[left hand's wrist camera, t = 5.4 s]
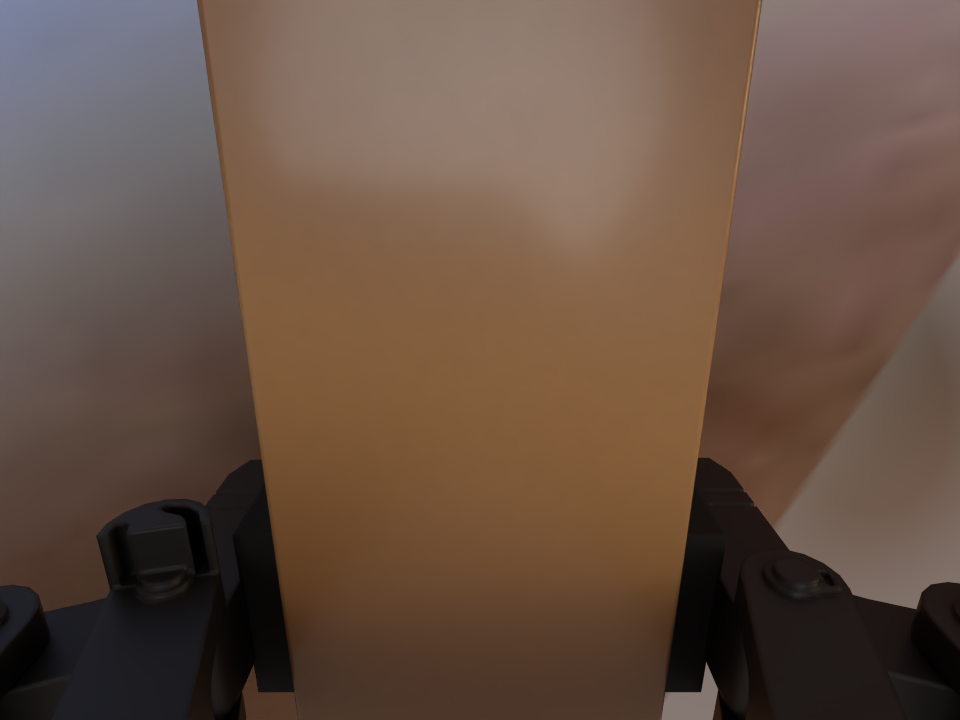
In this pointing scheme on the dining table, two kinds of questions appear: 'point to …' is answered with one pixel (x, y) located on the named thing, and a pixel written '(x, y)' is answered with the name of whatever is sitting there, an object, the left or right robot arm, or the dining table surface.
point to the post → (479, 333)
